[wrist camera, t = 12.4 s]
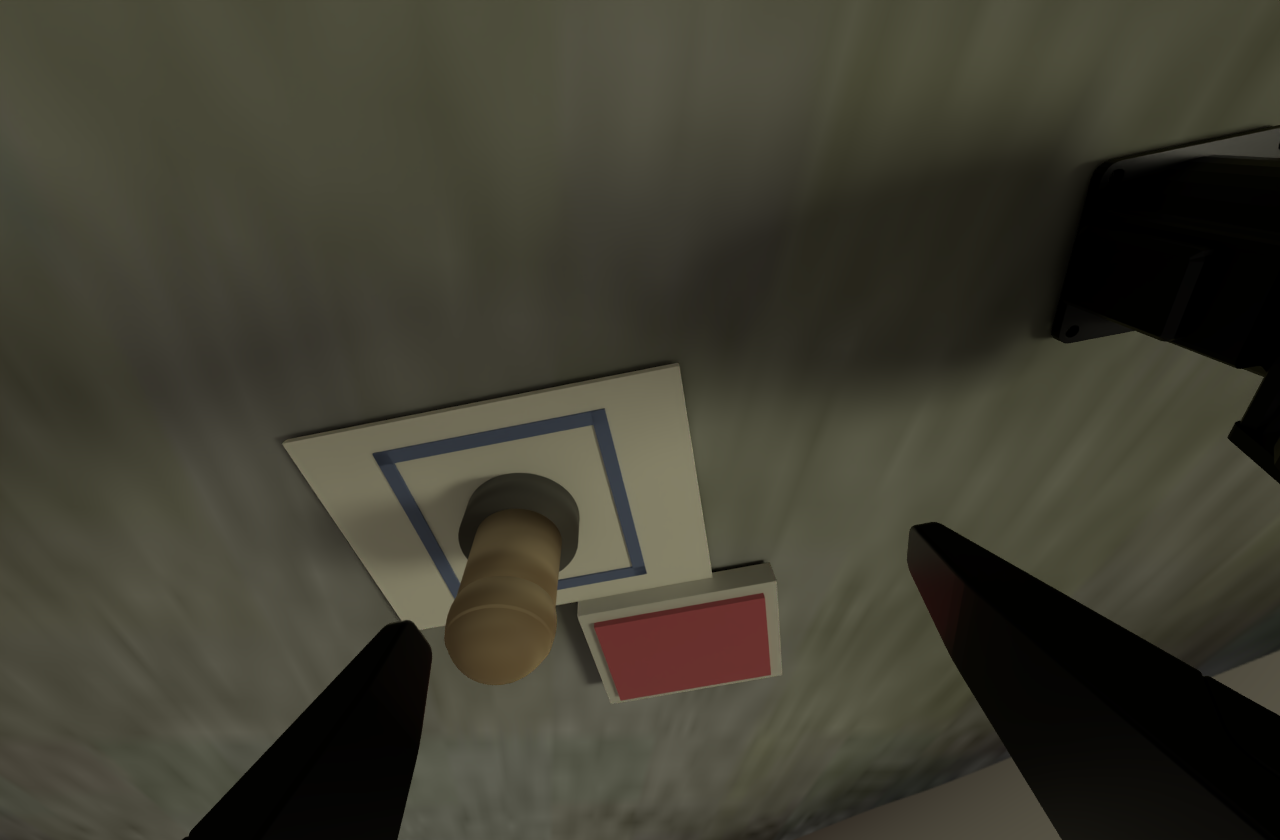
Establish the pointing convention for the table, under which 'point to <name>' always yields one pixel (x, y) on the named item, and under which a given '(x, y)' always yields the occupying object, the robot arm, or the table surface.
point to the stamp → (510, 576)
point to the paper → (520, 443)
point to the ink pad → (686, 634)
